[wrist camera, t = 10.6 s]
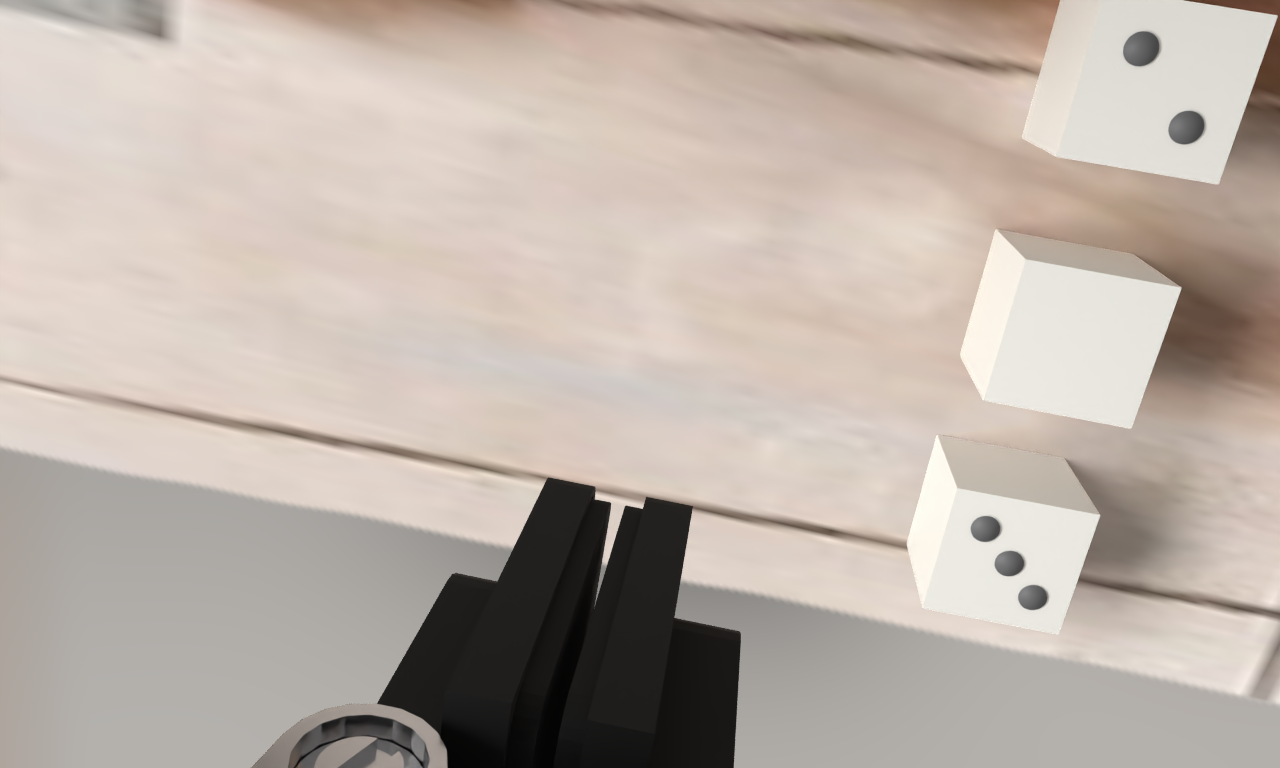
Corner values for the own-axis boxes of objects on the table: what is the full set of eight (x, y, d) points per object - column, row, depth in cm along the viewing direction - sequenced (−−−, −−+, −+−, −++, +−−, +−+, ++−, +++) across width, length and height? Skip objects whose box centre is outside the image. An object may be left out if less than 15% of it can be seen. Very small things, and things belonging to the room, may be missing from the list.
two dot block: (1062, -10, 43) (1106, -13, 37) (1214, 14, 42) (1282, 16, 37) (1021, 138, 45) (1057, 157, 39) (1165, 162, 44) (1222, 185, 39)
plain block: (995, 228, 46) (1025, 259, 41) (1132, 253, 46) (1181, 287, 40) (959, 355, 48) (983, 400, 43) (1089, 379, 48) (1131, 428, 42)
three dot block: (936, 433, 50) (957, 489, 44) (1065, 457, 49) (1103, 516, 44) (906, 543, 52) (922, 609, 46) (1029, 566, 52) (1061, 636, 46)
